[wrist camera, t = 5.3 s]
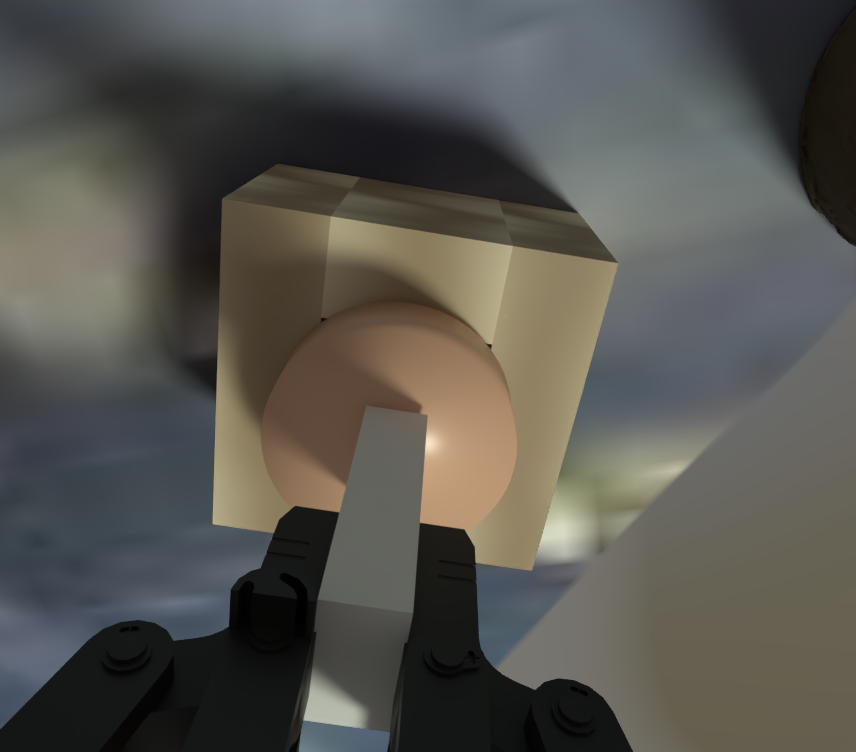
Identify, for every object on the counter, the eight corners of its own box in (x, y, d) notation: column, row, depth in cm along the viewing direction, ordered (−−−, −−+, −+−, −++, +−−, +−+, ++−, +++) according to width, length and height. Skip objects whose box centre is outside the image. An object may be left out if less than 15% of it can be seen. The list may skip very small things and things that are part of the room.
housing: (261, 428, 27) (212, 523, 21) (277, 163, 23) (222, 198, 17) (516, 466, 27) (531, 570, 22) (578, 213, 23) (618, 263, 17)
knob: (307, 404, 25) (254, 532, 19) (323, 232, 23) (268, 309, 16) (480, 430, 26) (489, 566, 19) (516, 263, 23) (542, 352, 16)
